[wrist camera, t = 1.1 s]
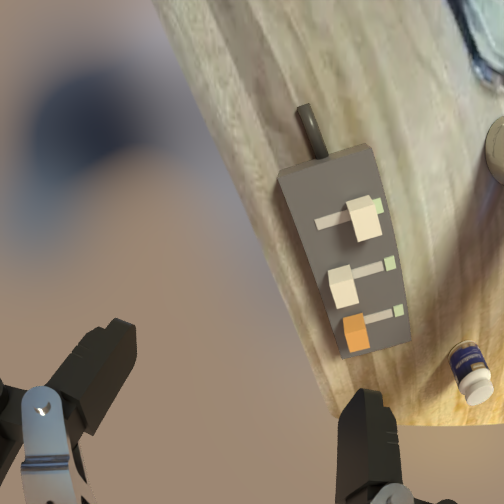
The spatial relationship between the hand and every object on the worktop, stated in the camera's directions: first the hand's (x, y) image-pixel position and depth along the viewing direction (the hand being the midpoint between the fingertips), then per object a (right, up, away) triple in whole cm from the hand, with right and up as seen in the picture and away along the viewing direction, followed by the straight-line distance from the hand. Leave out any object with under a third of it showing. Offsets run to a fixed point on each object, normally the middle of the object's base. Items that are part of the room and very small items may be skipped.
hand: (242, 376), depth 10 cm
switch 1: (+11, +8, +21) cm, 25 cm away
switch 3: (+13, -5, +27) cm, 31 cm away
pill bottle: (+35, -12, +32) cm, 49 cm away
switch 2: (+10, +1, +25) cm, 27 cm away
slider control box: (+12, +6, +27) cm, 30 cm away
